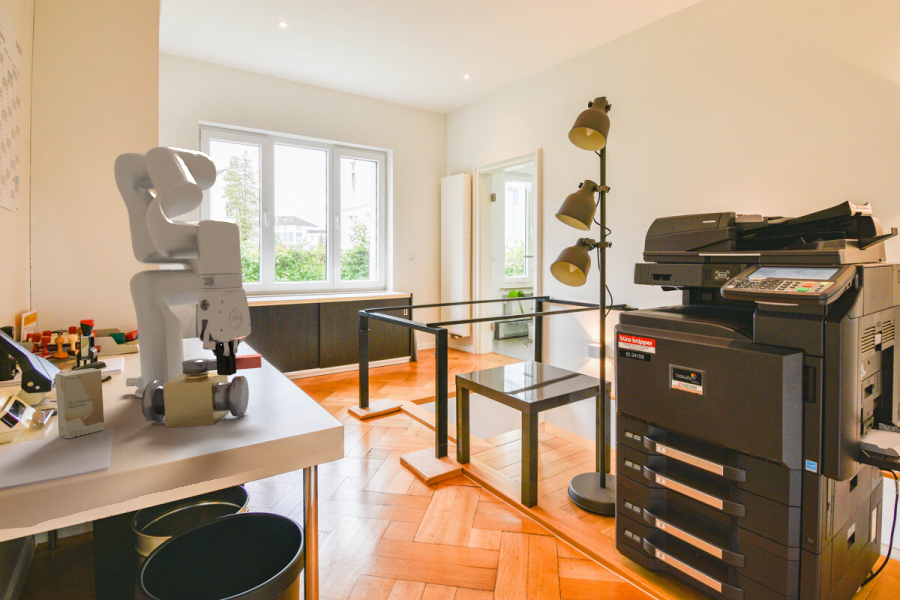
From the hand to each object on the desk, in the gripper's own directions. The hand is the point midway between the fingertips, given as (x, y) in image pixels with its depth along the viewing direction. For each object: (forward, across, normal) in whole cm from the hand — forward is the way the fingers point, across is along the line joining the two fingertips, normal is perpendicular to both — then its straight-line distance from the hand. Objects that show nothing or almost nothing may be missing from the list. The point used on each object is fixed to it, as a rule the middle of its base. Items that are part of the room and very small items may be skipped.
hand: (227, 374), depth 90 cm
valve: (+10, +2, +9) cm, 14 cm away
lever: (0, +5, +5) cm, 7 cm away
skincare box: (+11, -8, +27) cm, 30 cm away
